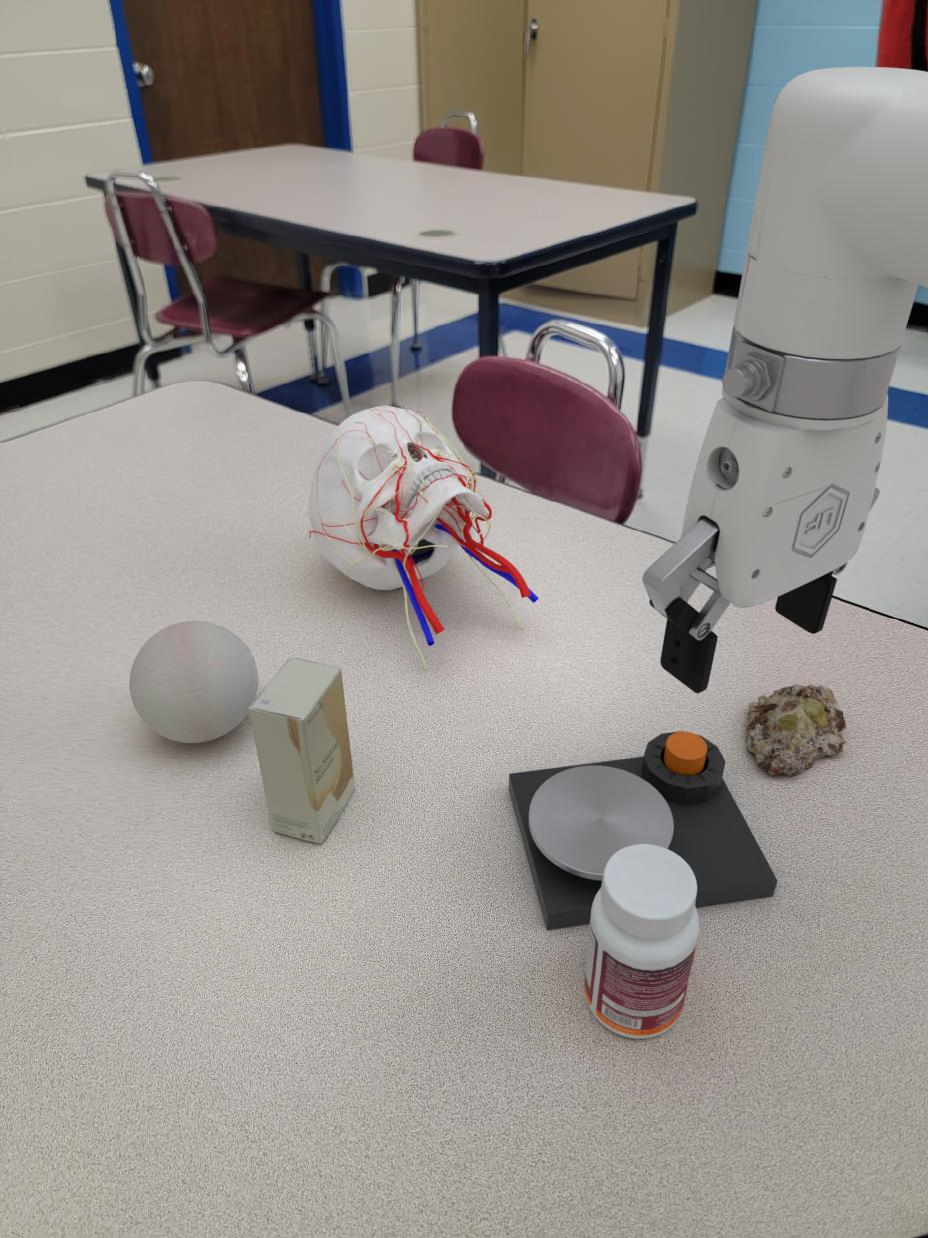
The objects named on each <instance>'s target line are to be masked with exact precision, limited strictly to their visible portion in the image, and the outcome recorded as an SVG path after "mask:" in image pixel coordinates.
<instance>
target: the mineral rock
mask: <svg viewBox="0 0 928 1238" xmlns="http://www.w3.org/2000/svg"><path fill="white" fill-rule="evenodd" d="M757 700H758V701H757V702H756V701H751V702H749V703H748V713H747V715H748V716H747V720H746V723H745V724H746V729H745V731H746V734H747V739H746V741H745V743H746V747H747V749H748V752H751V753H753V754H754V756H755V759H756V763H757V764H758V766H763V767H765V768H766V769H767V773H768V775H769V776H776V775H781V774H785V775H786V776H790V777H791V776H797V775H800V774H802V773H803V772H804V771H807V770H810V769H811V768H812V767H813V766H814V764H815V762H816V761H817V760H820V759H821V758H824V757H825V756H828V757H831V758H832V757H835V756H836V755H838V754H839V753H841V752H843V746H844V745H845V744H847V742H846V740H845V739H844V737H843V732H844V731H845V729H846V728H847V722H846V719H845V717H844V711H842V710H841V708H840V705H839V702H838V700H837V699H836V696H835V694H834V692H833V690H832V689H831V688H830V687H827V686H824V685H823V684H820V685H815V684H811V683H809V685H801V684H799V683H798V684H797V683H795V684H793V685H790V686H785V687H781V688H779V689H776V690H773V692H772V694H770V695H769V696H766V695H765V694H762V695H760V696H758V697H757Z"/></svg>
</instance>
